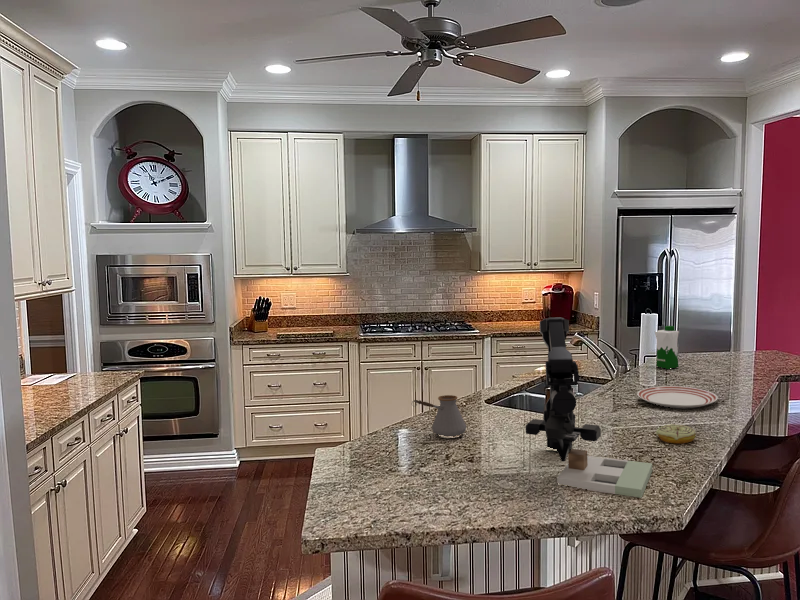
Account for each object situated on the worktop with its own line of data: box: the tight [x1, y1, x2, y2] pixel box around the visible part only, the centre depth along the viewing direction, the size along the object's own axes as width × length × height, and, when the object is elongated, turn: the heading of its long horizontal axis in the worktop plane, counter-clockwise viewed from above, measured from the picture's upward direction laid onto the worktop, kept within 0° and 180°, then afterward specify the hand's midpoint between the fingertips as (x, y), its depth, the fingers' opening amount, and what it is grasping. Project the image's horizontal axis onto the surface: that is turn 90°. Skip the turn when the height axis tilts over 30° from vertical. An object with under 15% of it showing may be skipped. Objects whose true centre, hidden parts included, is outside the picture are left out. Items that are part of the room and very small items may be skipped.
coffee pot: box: [411, 394, 467, 436], centre depth 192 cm, size 21×12×15 cm, turn 132°
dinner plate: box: [636, 385, 719, 409], centre depth 223 cm, size 28×27×3 cm
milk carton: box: [654, 325, 680, 370], centre depth 284 cm, size 9×9×20 cm
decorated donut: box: [655, 423, 697, 445], centre depth 181 cm, size 10×11×4 cm
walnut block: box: [567, 448, 588, 470], centre depth 156 cm, size 4×4×4 cm
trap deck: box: [556, 455, 653, 499], centre depth 153 cm, size 20×19×2 cm
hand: (563, 461), depth 158 cm, fingers closed
